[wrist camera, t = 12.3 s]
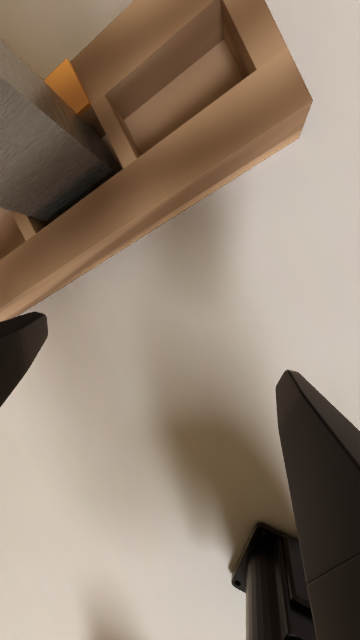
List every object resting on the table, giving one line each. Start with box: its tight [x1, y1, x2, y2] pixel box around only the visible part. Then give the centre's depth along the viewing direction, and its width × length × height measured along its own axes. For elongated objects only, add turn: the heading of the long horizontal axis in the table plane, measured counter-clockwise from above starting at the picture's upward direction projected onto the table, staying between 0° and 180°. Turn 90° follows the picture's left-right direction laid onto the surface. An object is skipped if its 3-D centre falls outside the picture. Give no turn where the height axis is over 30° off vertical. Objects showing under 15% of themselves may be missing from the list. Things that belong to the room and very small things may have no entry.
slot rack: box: [0, 0, 313, 322], centre depth 18 cm, size 10×28×4 cm, turn 118°
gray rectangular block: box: [0, 38, 121, 223], centre depth 13 cm, size 3×6×13 cm, turn 118°
